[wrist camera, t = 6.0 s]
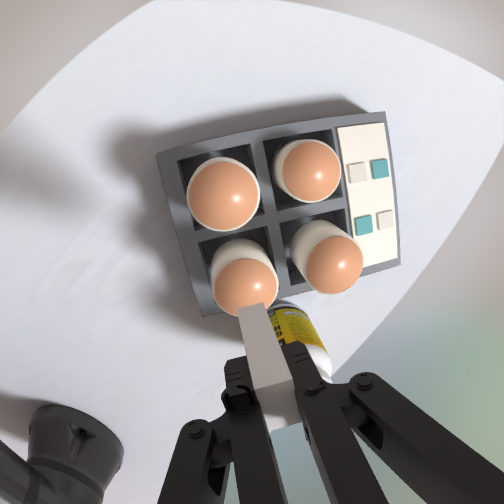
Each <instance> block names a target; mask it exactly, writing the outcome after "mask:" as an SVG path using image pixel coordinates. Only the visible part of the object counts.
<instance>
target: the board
mask: <svg viewBox="0 0 504 504" xmlns="http://www.w3.org/2000/svg"><path fill="white" fill-rule="evenodd" d="M314 131H321V136H322V141H323V143H325V144H327V145H328V146H330V147H331V148H332V149H333V150H334V151H335V153H336V154H337V156H338V158H339V161H340V165H341V177H340V181H339V184H338V186H337V188H336V189H335V191H334V192H333V193H332V194H331V195H330V196H329V197H327V198H326V199H324V200H322V201H319V202H315V203H306V202H301V201H299V200H297V199H295V200H291V201H286V202H282V203H277V204H275V200H274V195H273V190H272V185H271V180H270V175H269V170H268V165H267V160H266V156H265V151H264V146H263V141H264V140H269V139H274V138H279V137H285V136H291V135H296V134H302V133H308V132H314ZM244 144H246V145H247V149H248V154H249V158H250V163H251V168H252V172H253V174H254V175H255V177H256V179H257V181H258V184H259V187H260V202H259V205H260V208H257V211H256V213H255V214H254V216H253V217H252V218H251V219H250V220H249V221H248V222H247V223H246V224H245V225H243V226H242V227H240V228H238V229H235V230H232V231H223V232H222V231H214V230H211V229H208V228H206V227H204V226H203V225H201V224H200V223H199V222H197V223H196V220H195V218H194V217H193V215H192V214H191V212H190V210H189V208H188V204H187V197H186V194H187V185H186V181H185V177H184V173H183V169H182V165H181V161H180V160H181V159H185V158H189V157H193V156H197V155H201V154H205V153H209V152H213V151H218V150H222V149H226V148H231V147H235V146H240V145H244ZM156 157H157V162H158V166H159V170H160V174H161V177H162V181H163V185H164V189H165V193H166V197H167V200H168V204H169V208H170V212H171V215H172V219H173V222H174V226H175V230H176V233H177V237H178V240H179V244H180V247H181V250H182V254H183V257H184V260H185V264H186V267H187V270H188V274H189V277H190V280H191V283H192V287H193V290H194V293H195V296H196V299H197V302H198V305H199V309H200V312H201V315H202V317H206V316H211V315H215V314H219V313H224V312H225V311H223V310H222V309H221V308H220V307H219V306H218V305H217V303H216V302H215V300H214V297H213V294H212V279H211V275H210V272H209V268H208V265H207V261H206V257H205V254H204V250H203V247H202V243H201V242H202V241H206V240H210V239H214V238H218V237H222V236H227V235H231V234H235V233H239V232H243V231H247V230H252V229H256V228H260V227H264V229H265V234H266V239H267V244H268V249H269V253H270V258H271V263H272V266H273V268H274V270H275V272H276V274H277V277H278V282H279V288H278V293H277V296H276V298H275V300H277V299H281V298H285V297H289V296H293V295H297V294H300V293H304V292H308V291H312V290H314V289H312V288H311V287H310V286H309V284H308V283H307V281H306V280H305V279H304V277H303V276H302V274H301V273H300V271H299V270H296V271H292V272H288V268H287V262H286V257H285V252H284V246H283V241H282V236H281V230H280V225H279V223H281V222H286V221H290V220H294V219H299V218H303V217H307V216H312V215H316V214H321V213H325V212H329V211H334V215H335V222H336V226H337V227H338V228H339V229H341V230H342V231H344V232H345V233H347V234H348V235H349V236H351V237H352V238H354V239H355V240H356V241H357V242H358V243H359V245H360V246H361V249H362V251H363V256H364V263H363V268H362V271H361V274H360V276H359V277H362V276H365V275H369V274H372V273H376V272H379V271H382V270H386V269H389V268H392V267H396V266H399V265H401V263H400V237H399V220H398V207H397V195H396V185H395V176H394V168H393V160H392V152H391V145H390V138H389V132H388V126H387V120H386V115H385V111H384V112H373V113H363V114H353V115H345V116H337V117H329V118H322V119H315V120H308V121H302V122H295V123H289V124H283V125H278V126H272V127H267V128H262V129H256V130H251V131H247V132H242V133H237V134H232V135H228V136H223V137H219V138H215V139H210V140H206V141H202V142H198V143H194V144H190V145H186V146H182V147H179V148H175V149H171V150H168V151H164V152H160V153H157V154H156Z"/></svg>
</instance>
